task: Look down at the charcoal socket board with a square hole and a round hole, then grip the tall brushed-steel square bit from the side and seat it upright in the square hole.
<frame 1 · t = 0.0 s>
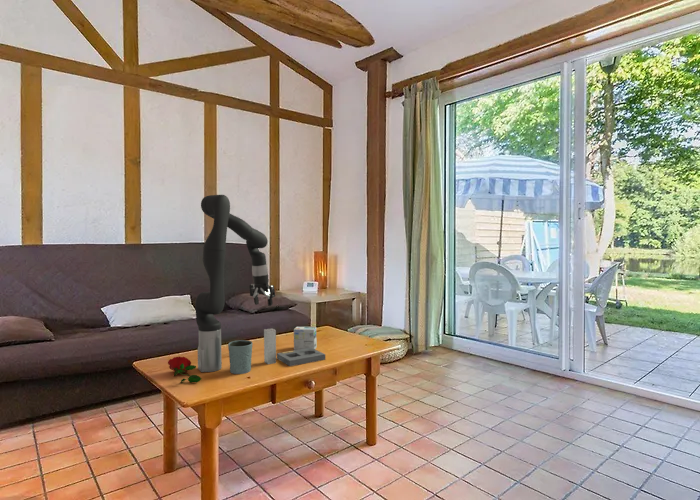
hand: (263, 305, 215), 22 cm above the table, tool pointing down, fingers open, 8 cm apart
flower: (186, 380, 171), on the table
light bulb box: (305, 349, 216), on the table
socket board: (301, 359, 198), on the table
square bit: (270, 362, 193), on the table
green embossed pot: (240, 371, 181), on the table
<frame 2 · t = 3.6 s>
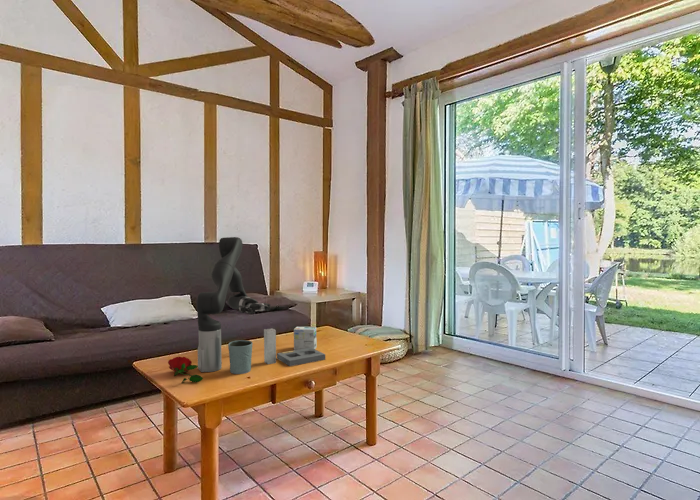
hand: (260, 310, 202), 22 cm above the table, tool horizontal, fingers open, 8 cm apart
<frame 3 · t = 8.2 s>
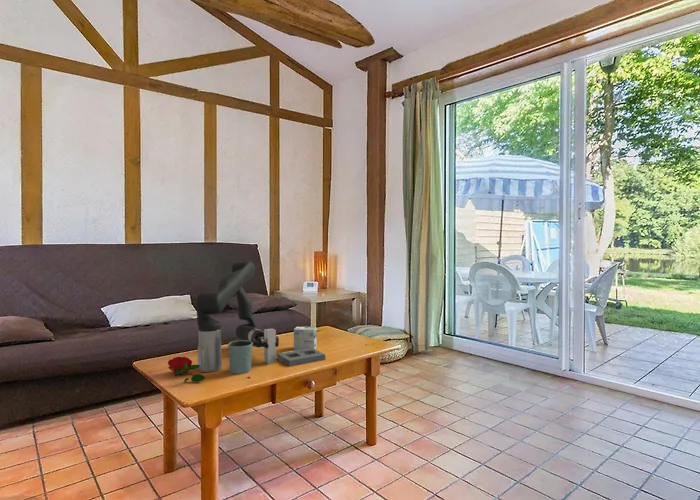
hand: (272, 345, 190), 9 cm above the table, tool horizontal, fingers closed on square bit, 4 cm apart
square bit: (270, 362, 193), on the table, touching gripper
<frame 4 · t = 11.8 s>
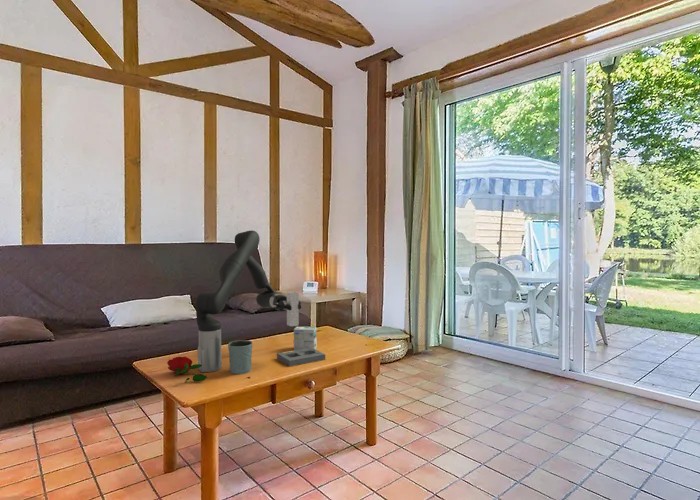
hand: (295, 307, 193), 25 cm above the table, tool horizontal, fingers closed on square bit, 4 cm apart
square bit: (292, 325, 195), point 16 cm above the table, touching gripper
when the fingers open (9 cm above the table, at t = 15.6 s): square bit stays where it is, resting in socket board.
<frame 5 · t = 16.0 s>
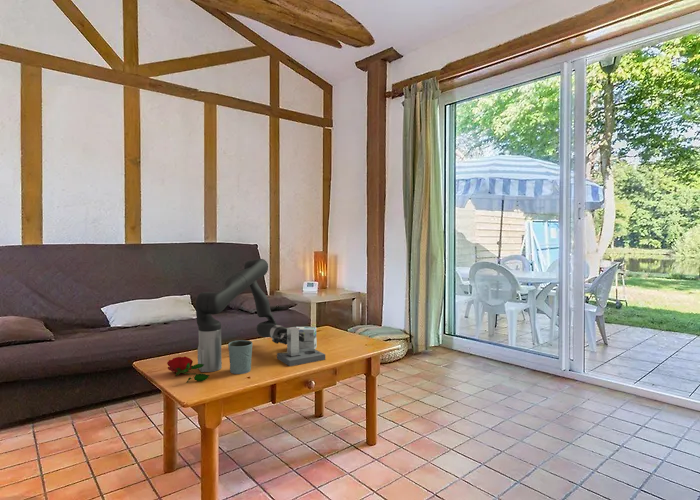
hand: (294, 340, 194), 10 cm above the table, tool horizontal, fingers open, 8 cm apart
square bit: (293, 360, 196), resting in socket board
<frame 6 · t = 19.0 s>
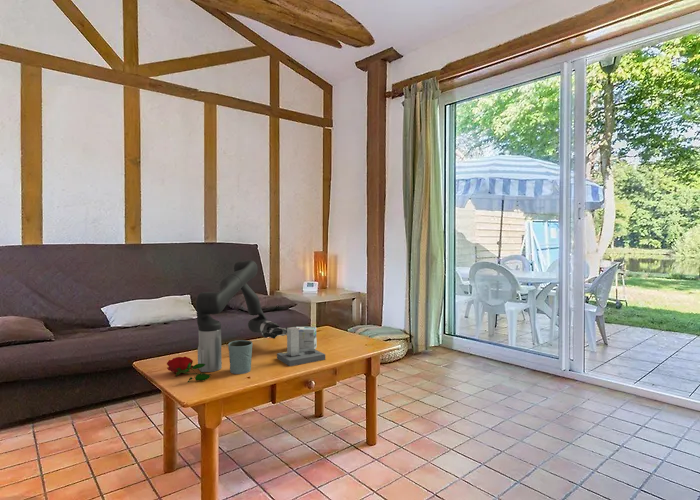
hand: (283, 335, 205), 10 cm above the table, tool horizontal, fingers open, 8 cm apart
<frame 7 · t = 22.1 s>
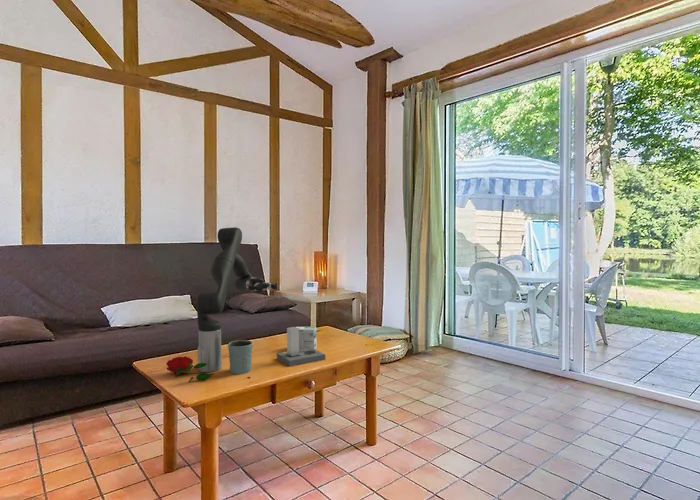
hand: (267, 288, 206), 32 cm above the table, tool horizontal, fingers open, 8 cm apart
at the end: square bit 0.1 cm from the target spot on the socket board, point 0.0 cm above the socket board's base; square bit tilted 0°; the gripper is holding nothing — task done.
